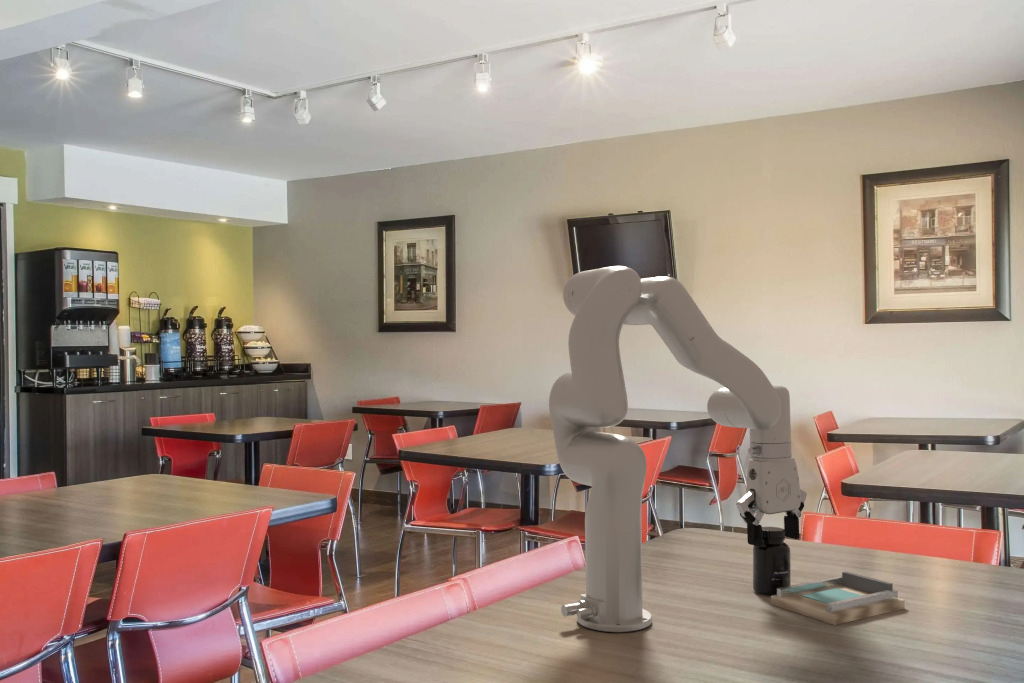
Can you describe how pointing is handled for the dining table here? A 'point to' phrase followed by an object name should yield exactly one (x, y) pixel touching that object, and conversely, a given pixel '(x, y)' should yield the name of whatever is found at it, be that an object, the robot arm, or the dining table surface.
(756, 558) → the supplement bottle
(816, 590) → the board
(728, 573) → the dining table surface
